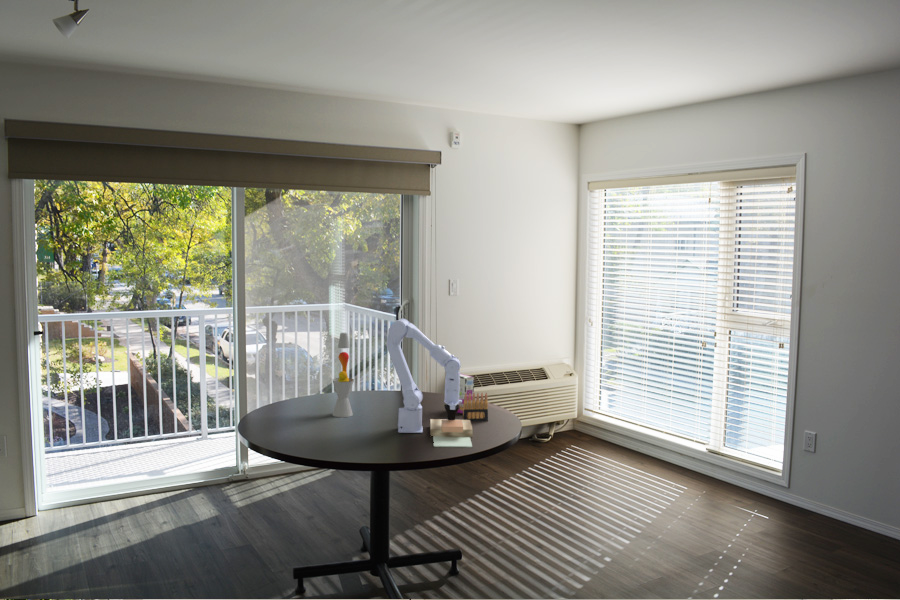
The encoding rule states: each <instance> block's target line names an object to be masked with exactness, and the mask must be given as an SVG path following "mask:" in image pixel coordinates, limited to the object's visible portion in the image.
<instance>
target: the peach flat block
mask: <svg viewBox="0 0 900 600" xmlns="http://www.w3.org/2000/svg"><path fill="white" fill-rule="evenodd" d="M441 428H442V432H463V423H462V419H455V420H441Z"/></svg>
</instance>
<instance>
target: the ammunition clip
mask: <svg viewBox="0 0 900 600" xmlns="http://www.w3.org/2000/svg"><path fill="white" fill-rule="evenodd" d="M488 406H489V401H488V393H487V392H485V394H484V393H483V392H481V394H479V392H477V393H476V394H475V392H474V393H473V397H472V408H471V394H470V393H469V396H468V406H467V394H466V393H465V396H464V404H463V414H462V419H461V420H470V422H488V421H489V411H488V410H489V407H488Z"/></svg>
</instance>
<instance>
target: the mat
mask: <svg viewBox="0 0 900 600" xmlns="http://www.w3.org/2000/svg"><path fill="white" fill-rule="evenodd" d="M432 440H433V442H434V443H433V447H434V448H473V443H472V441H471V437H460V436H433V437H432Z"/></svg>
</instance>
